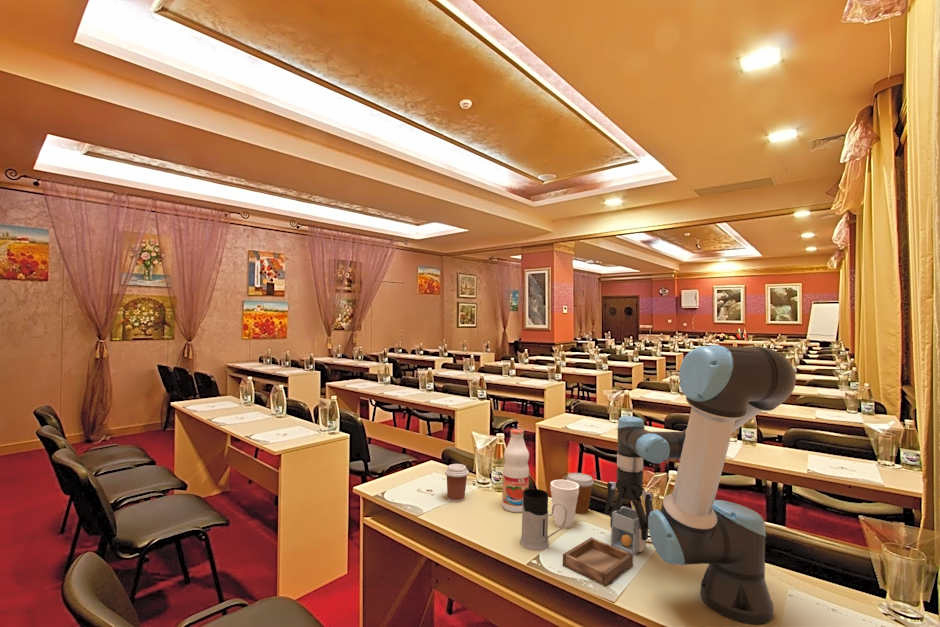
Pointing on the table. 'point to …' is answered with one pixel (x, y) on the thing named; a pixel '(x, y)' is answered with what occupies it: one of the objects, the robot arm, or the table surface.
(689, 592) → the table surface
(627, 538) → the ball
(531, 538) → the grey mug
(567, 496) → the foam cup
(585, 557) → the tray
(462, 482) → the coffee cup
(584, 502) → the disposable coffee cup
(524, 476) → the fruit juice
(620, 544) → the grey frame
